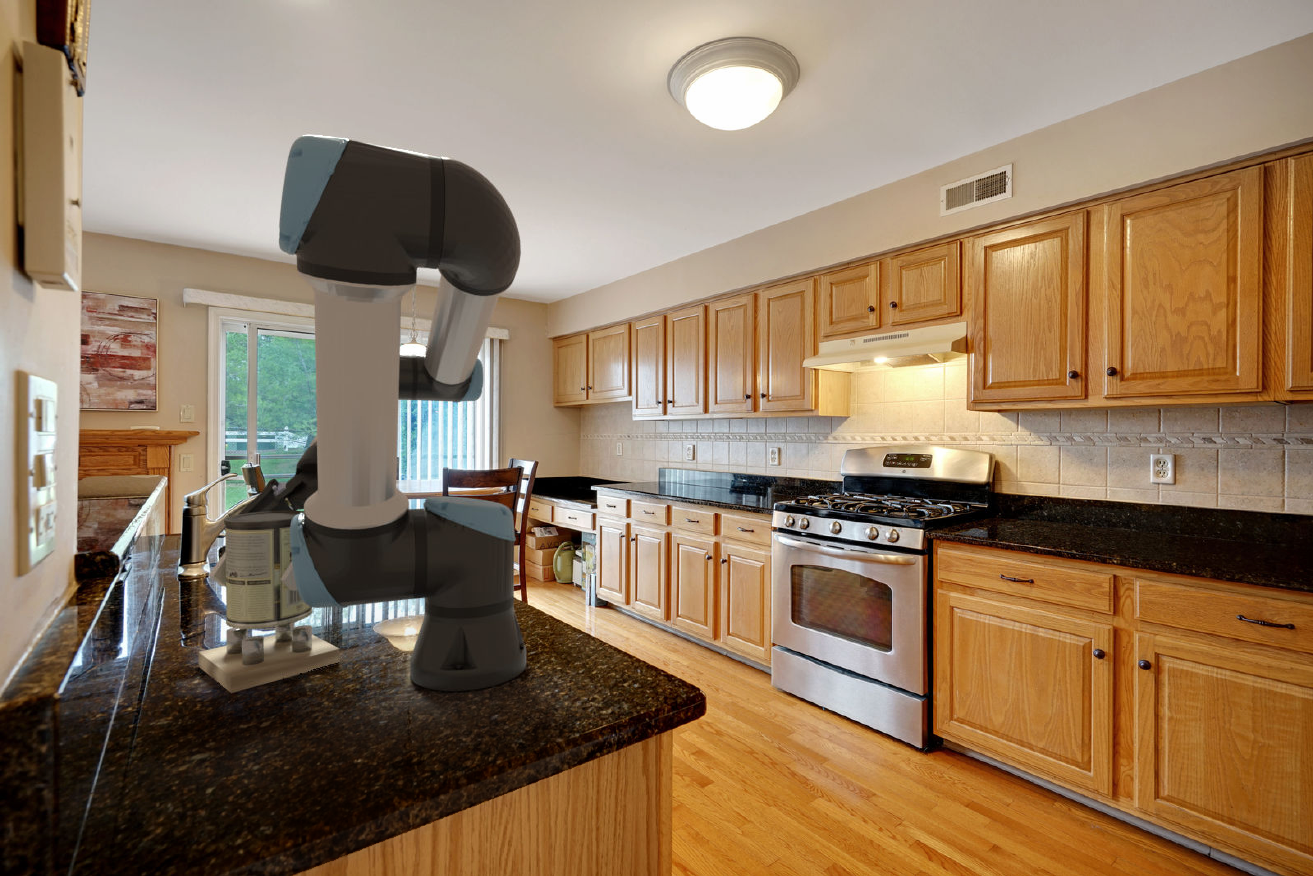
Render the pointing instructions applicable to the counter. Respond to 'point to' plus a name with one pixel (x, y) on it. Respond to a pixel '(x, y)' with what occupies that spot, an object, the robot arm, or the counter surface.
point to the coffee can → (260, 571)
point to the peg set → (255, 645)
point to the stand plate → (265, 663)
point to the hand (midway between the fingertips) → (252, 583)
